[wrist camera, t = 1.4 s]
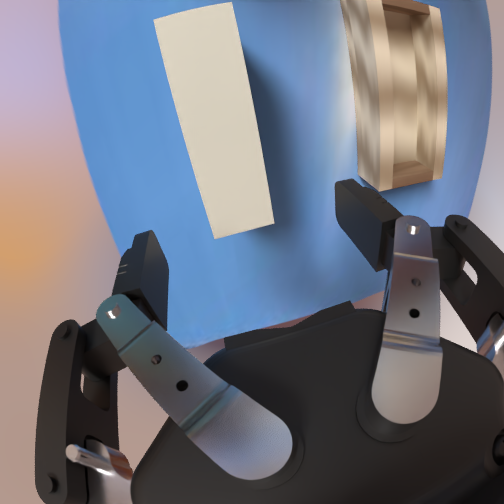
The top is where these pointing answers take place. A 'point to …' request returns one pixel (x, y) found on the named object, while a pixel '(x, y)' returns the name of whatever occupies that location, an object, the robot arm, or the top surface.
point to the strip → (217, 115)
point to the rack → (398, 90)
